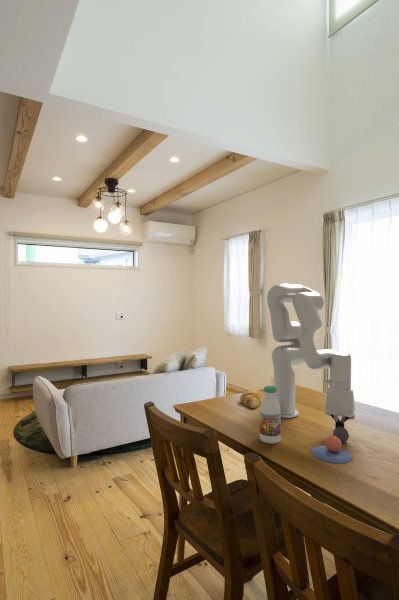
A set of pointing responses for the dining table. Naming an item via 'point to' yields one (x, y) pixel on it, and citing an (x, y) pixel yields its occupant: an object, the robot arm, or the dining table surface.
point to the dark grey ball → (341, 434)
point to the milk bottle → (270, 417)
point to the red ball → (333, 443)
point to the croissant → (251, 398)
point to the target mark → (331, 455)
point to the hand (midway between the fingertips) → (339, 431)
